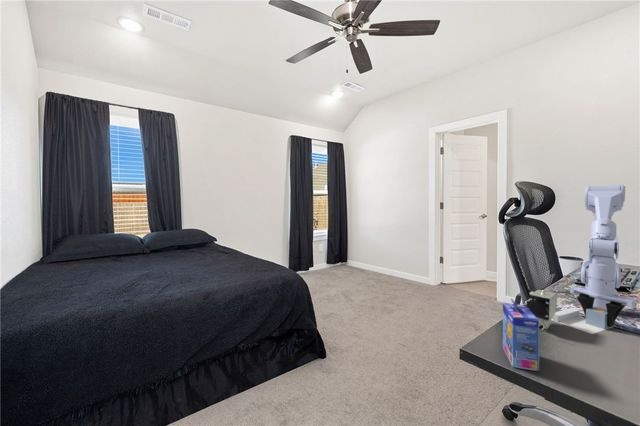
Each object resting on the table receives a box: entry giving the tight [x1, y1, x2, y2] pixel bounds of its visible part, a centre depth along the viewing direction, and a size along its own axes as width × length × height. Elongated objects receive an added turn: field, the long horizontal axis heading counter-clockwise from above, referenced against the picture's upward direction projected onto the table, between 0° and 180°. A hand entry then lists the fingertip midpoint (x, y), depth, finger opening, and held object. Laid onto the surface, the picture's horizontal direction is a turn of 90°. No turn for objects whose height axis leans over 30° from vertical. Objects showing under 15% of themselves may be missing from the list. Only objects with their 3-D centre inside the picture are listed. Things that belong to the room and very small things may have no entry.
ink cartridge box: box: [502, 298, 540, 372], centre depth 72 cm, size 10×6×14 cm, turn 161°
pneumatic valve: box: [526, 288, 558, 330], centre depth 88 cm, size 6×12×12 cm, turn 130°
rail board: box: [550, 307, 615, 335], centre depth 90 cm, size 12×11×3 cm
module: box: [585, 307, 614, 330], centre depth 89 cm, size 5×4×5 cm
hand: (599, 322), depth 89 cm, fingers closed on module, 4 cm apart
